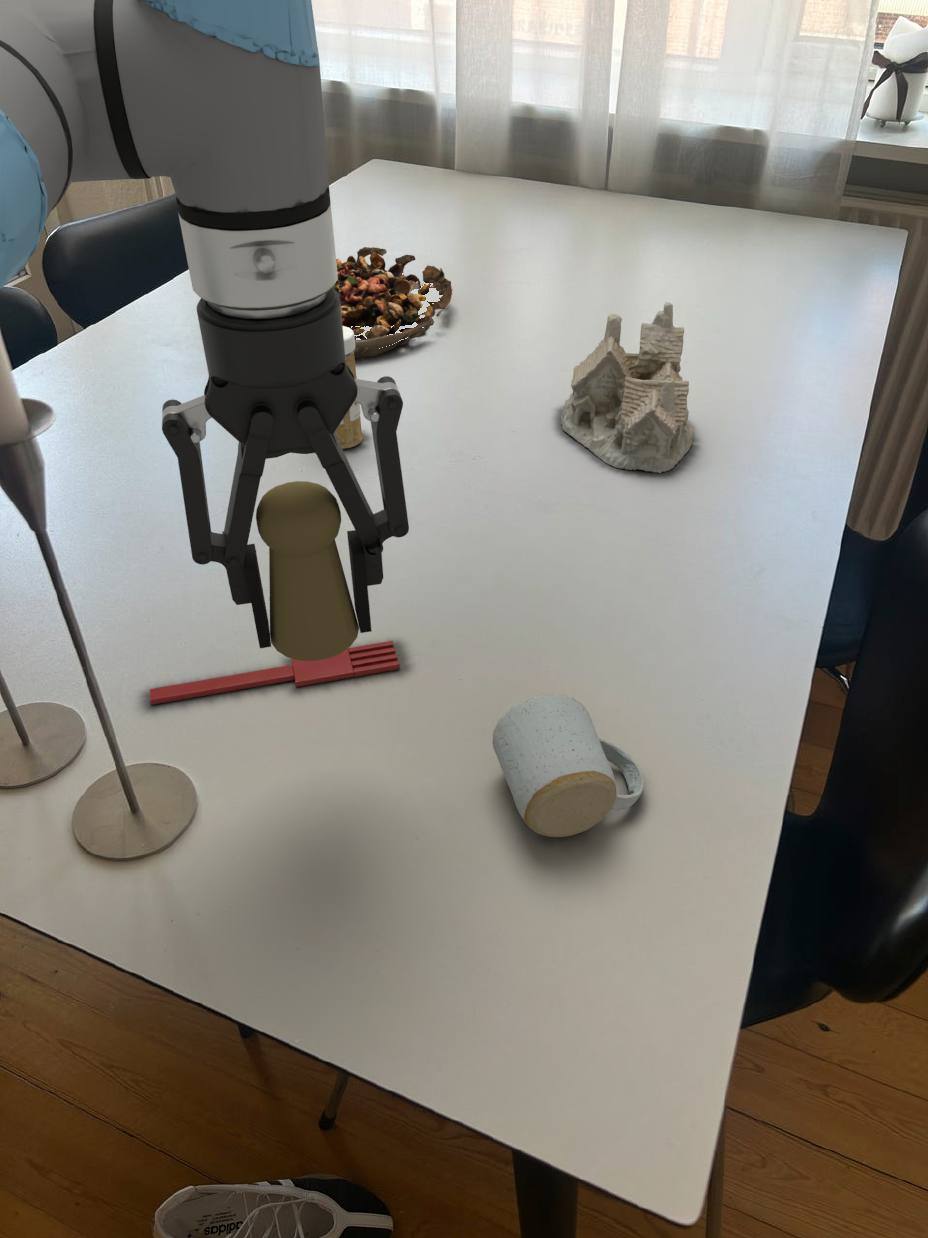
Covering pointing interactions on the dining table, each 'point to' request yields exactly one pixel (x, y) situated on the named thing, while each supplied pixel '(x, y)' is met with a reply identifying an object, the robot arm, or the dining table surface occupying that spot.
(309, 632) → the tan peg doll
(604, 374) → the ceramic cottage
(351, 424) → the sprinkles bottle
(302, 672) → the fork
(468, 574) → the dining table surface
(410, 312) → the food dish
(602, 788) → the ceramic mug
